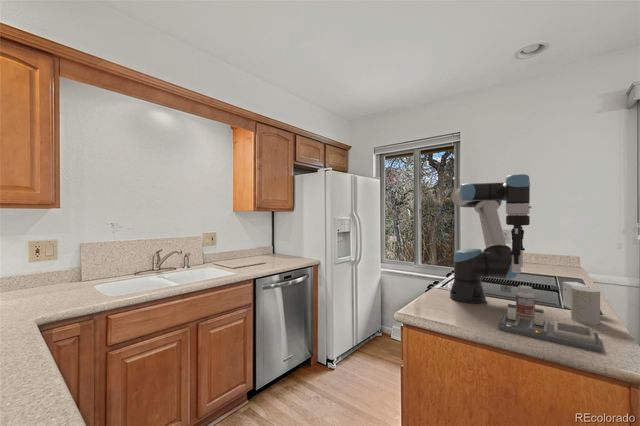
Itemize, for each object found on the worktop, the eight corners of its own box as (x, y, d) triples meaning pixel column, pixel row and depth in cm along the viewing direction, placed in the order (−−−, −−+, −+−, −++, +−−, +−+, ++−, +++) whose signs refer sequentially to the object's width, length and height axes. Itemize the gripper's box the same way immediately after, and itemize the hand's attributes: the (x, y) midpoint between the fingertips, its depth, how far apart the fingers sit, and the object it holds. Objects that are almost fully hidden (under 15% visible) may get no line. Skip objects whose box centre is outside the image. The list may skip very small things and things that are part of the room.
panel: (498, 329, 100) (498, 321, 100) (503, 318, 110) (503, 310, 110) (601, 352, 84) (601, 342, 84) (597, 337, 94) (597, 328, 94)
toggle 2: (534, 324, 101) (534, 310, 101) (534, 321, 103) (534, 308, 103) (543, 325, 99) (543, 311, 99) (543, 323, 101) (543, 309, 101)
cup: (565, 316, 112) (565, 286, 112) (584, 316, 112) (584, 285, 112) (586, 325, 104) (586, 292, 104) (606, 324, 104) (606, 291, 104)
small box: (590, 312, 116) (590, 286, 116) (574, 311, 117) (574, 286, 117) (577, 306, 124) (577, 281, 124) (562, 305, 125) (562, 281, 125)
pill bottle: (521, 310, 119) (521, 284, 119) (538, 315, 114) (538, 287, 114) (512, 312, 116) (512, 285, 116) (529, 318, 111) (529, 289, 111)
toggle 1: (507, 318, 106) (507, 305, 106) (508, 316, 108) (508, 303, 108) (515, 320, 104) (515, 307, 104) (516, 318, 106) (516, 305, 106)
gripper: (528, 215, 98) (528, 277, 99) (530, 214, 118) (530, 265, 118) (502, 215, 103) (502, 274, 103) (508, 214, 123) (508, 263, 123)
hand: (517, 269), depth 111 cm, fingers open, 13 cm apart
